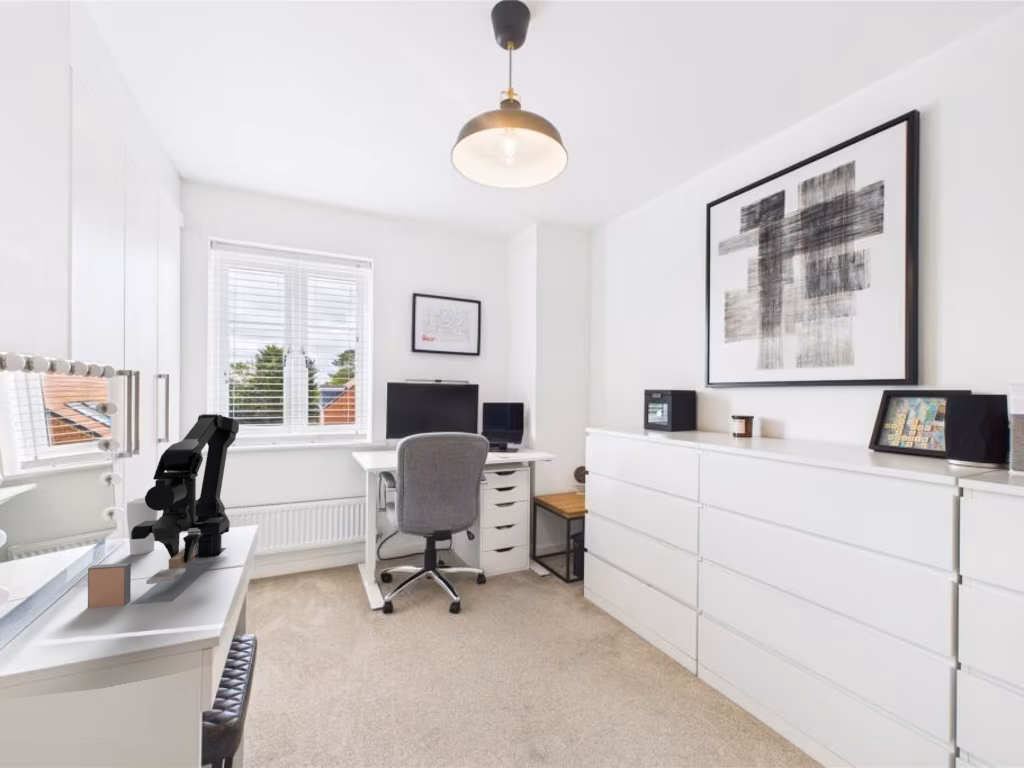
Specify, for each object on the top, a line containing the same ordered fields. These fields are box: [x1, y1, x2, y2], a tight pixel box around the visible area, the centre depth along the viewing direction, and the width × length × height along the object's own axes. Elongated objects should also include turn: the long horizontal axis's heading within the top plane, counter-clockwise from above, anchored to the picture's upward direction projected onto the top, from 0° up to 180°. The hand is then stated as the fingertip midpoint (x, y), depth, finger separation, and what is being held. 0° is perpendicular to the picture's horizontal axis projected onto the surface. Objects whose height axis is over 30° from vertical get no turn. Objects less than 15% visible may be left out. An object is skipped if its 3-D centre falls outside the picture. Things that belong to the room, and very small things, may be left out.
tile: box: [87, 562, 132, 609], centre depth 97 cm, size 2×7×9 cm, turn 102°
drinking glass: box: [126, 497, 159, 556], centre depth 127 cm, size 7×7×15 cm
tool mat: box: [131, 561, 217, 605], centre depth 109 cm, size 22×8×1 cm, turn 12°
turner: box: [146, 546, 196, 585], centre depth 107 cm, size 14×5×3 cm, turn 12°
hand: (181, 562), depth 110 cm, fingers closed on turner, 2 cm apart
